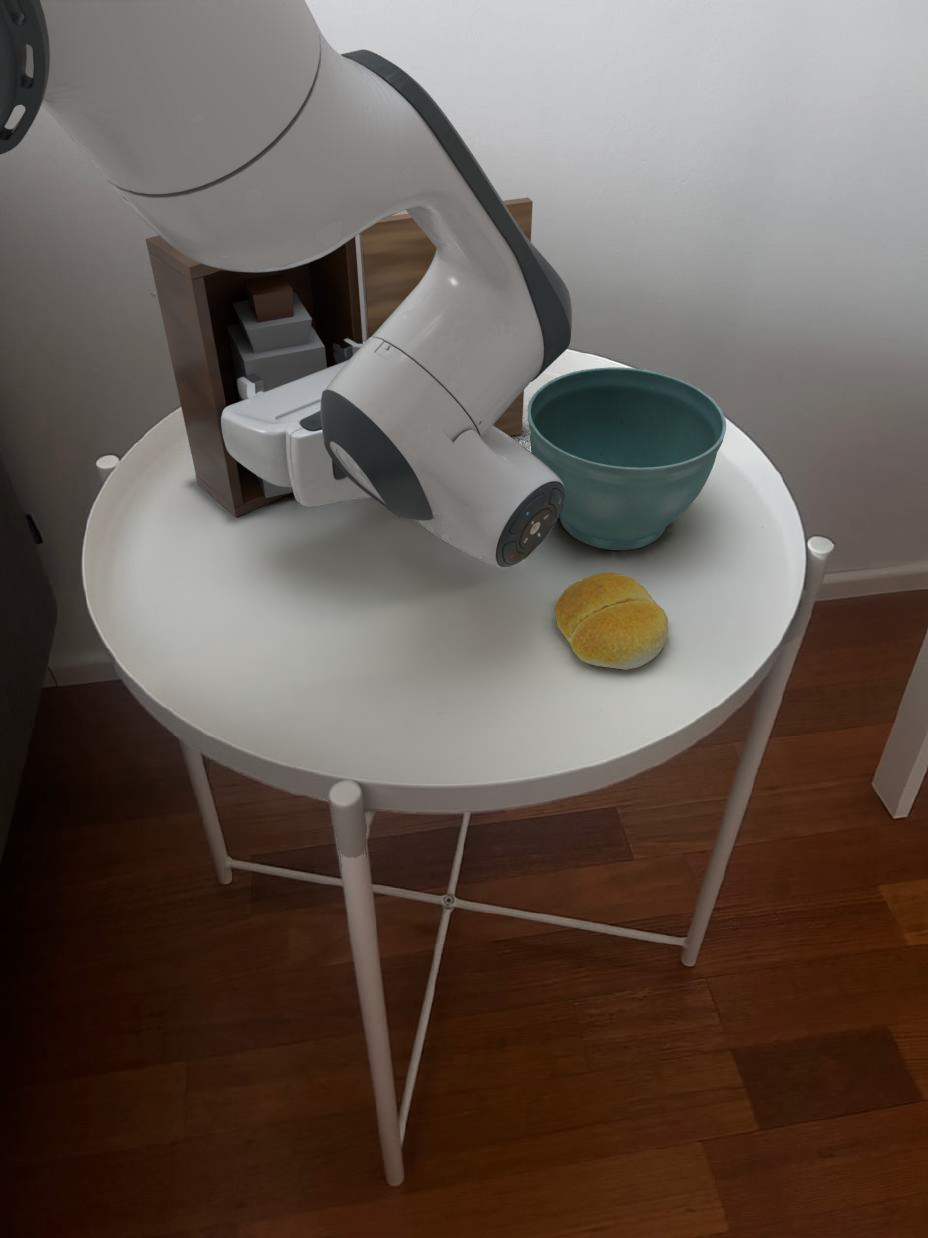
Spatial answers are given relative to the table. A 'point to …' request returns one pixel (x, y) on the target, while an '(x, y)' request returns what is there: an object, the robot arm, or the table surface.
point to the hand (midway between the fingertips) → (293, 365)
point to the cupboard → (203, 350)
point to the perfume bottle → (274, 341)
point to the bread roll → (611, 621)
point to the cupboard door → (416, 276)
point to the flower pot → (624, 450)
